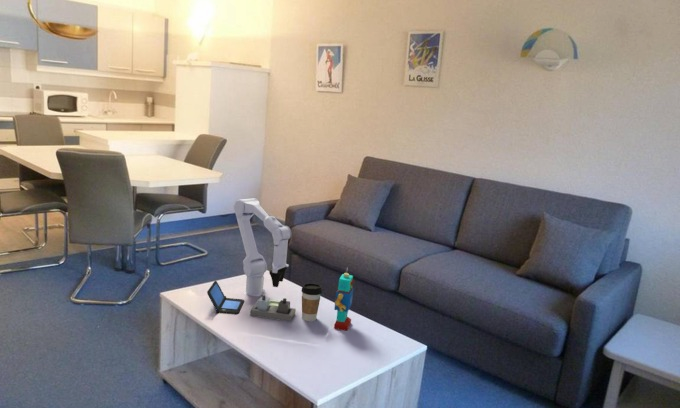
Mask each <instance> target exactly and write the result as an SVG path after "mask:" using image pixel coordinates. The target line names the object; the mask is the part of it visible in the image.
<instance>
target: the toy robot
mask: <svg viewBox="0 0 680 408" xmlns="http://www.w3.org/2000/svg"><path fill="white" fill-rule="evenodd" d="M348 269H349V268H348V267H346V270H345V272H344V273H342V274H341V276H340V277H339V280H338V287H337V290H336V292H335V298H334V311H336V320H335V323H334V325H333V329H336V330H340V331H341V330H342V331H346V332H347V331H348V330H349V327H350V325H351V322H352V318H351V317H348V314H349V310H350V308H351V307H352V303H353V295H354V287H353V283H354V275H351V274H349V273H348Z"/></svg>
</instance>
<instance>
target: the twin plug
mask: <svg viewBox="0 0 680 408" xmlns="http://www.w3.org/2000/svg"><path fill="white" fill-rule="evenodd" d="M290 308H291V301H290V300H289V301H288V300H287V298H285V297H284V298H282V299H281V300H280V301H279V304H278V313H283V314H289V312H290Z"/></svg>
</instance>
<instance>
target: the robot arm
mask: <svg viewBox="0 0 680 408" xmlns="http://www.w3.org/2000/svg"><path fill="white" fill-rule="evenodd" d="M233 210H234V213H235V218H236V220H237V225H238V229H239V232H240V237H241V240H242V244H243V248H244V252H245V254H246V256H245V258H243V260H242V265H243V266H242V267H243V273H244V274H245V276H246V281H245V282H246V283H245V291H243V293H242V295H244V296H245V295H246V296H250V297H251V296H252V297H259V298H260V297H262V296H261V295H263V294H264V292H265V291H266V289H264V282H265V273H266V272H267V270H268V264H267V261H266V260H265V257H264V256H263V255H262V254H260V253H259V250H258V247H257V244H256V240H255V237H254V236H255V235H254V231H253V228H252V224H251V221H250V220H251V218H252V217H253V216H254V215H255V216H256V217H257V218H258V219H259V220H261V221H262V222H263V226H264V227H265V228H266V229H267V231H268V232H270V234H271V236H272V239H273V245H274V246H273V257H272V258H273V259H272V263H271V265H272V269H270V270H269V272H268V273H269V275H270V278H271V282H272V283H271V284H272V288H273V287H274V288H279V285H280V282H283V281H284V278H285V275H286V272H287V270H288V268H289V266H290V264H287V257H288V256H287V255H288V248H289V247H288V245H289V244H288V242H289V240H290V239H291V237H292V230H291V228H290V226H288V225H283V224H282V223H281V222H280V221H279V220H278V219H277V217H276V216H273V215H269V214H268V213H267V212H266V210H264V208H262V206H261V202H260V201H259V200H258V199H257V198H255V197H252V198H244V199H243V198H241V199H237V200H235V203H234V205H233Z"/></svg>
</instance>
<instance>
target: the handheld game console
mask: <svg viewBox="0 0 680 408" xmlns="http://www.w3.org/2000/svg"><path fill="white" fill-rule="evenodd" d="M206 293H207V296H208V297H209V300H210V302H211V303H212V305H213V307H214V309H215V314H228V315H229V314H231V315H238V314H240V311H241V309H242V307H243V305H244V303H245V300H244V299H243V298H242V299H241V298H234V297H233V298H231V297H227V296H226V295H225V294H224V292H223V291H222V289H221V286H220V284H219V283H218V281H217V280H214V281H213V282H212V284H211V286H210V287H209V289H208V290H207V291H206Z"/></svg>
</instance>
